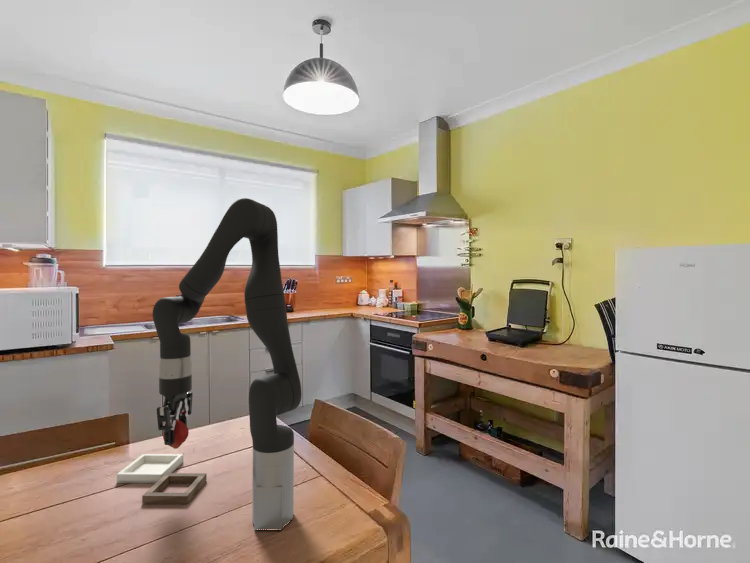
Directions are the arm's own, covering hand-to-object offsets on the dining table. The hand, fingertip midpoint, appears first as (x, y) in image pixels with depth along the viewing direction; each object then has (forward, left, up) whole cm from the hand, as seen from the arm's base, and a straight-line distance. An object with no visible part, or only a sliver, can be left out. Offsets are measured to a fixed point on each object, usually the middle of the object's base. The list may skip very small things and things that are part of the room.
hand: (176, 438), depth 100 cm
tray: (+10, +12, -14) cm, 21 cm away
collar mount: (0, 0, -14) cm, 14 cm away
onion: (0, 0, -3) cm, 3 cm away
